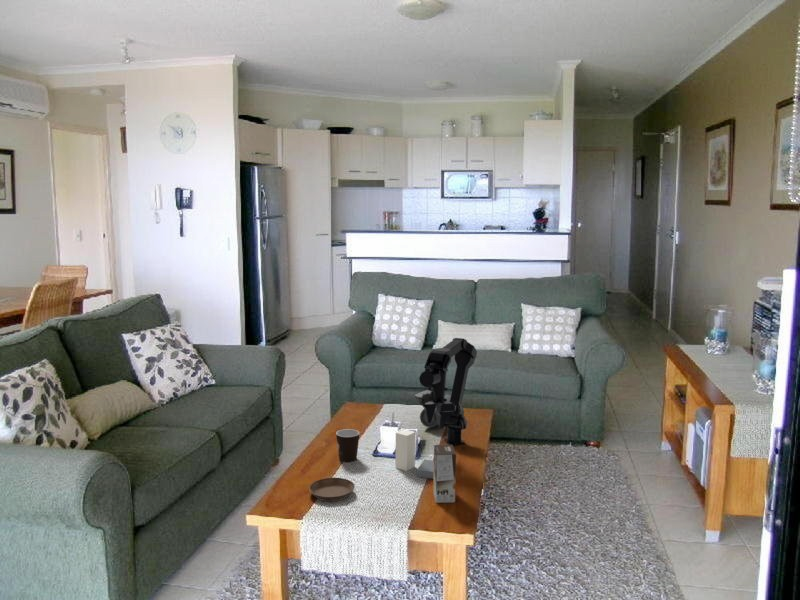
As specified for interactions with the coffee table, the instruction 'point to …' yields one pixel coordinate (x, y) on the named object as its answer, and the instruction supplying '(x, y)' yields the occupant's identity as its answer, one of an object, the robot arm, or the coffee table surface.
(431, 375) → the robot arm
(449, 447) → the coffee box
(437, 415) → the bluetooth speaker
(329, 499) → the saucer
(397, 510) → the coffee table surface
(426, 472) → the plinth
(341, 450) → the coffee mug
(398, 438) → the post
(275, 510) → the coffee table surface
